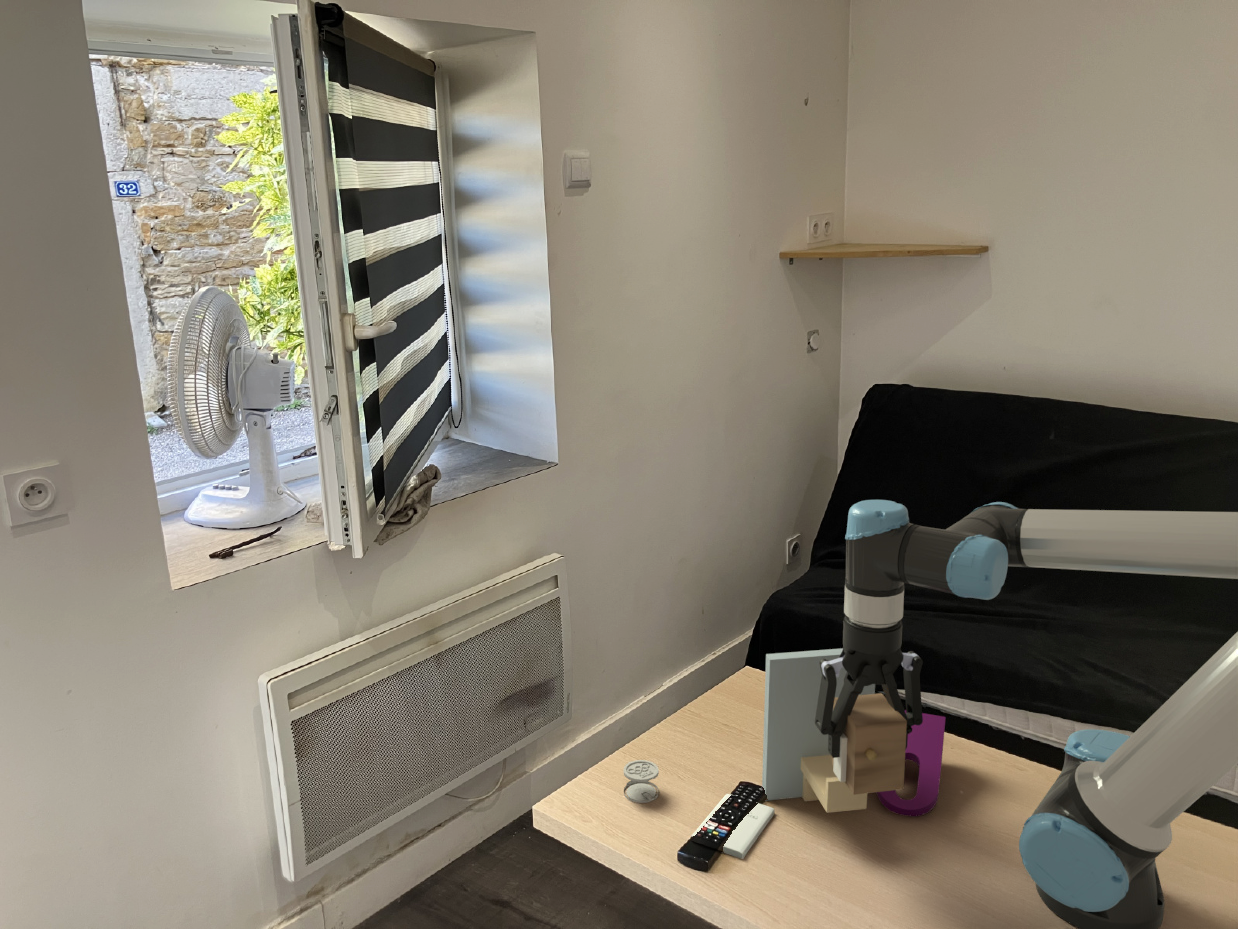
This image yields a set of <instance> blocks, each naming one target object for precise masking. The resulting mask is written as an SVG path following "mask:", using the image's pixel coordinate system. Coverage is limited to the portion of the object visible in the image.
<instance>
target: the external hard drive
mask: <svg viewBox="0 0 1238 929" xmlns="http://www.w3.org/2000/svg"><path fill="white" fill-rule="evenodd" d="M731 795H732V794H731V793H726V794H724V796H723V798H721V799H720V801H719V802H718V803H717V804H716V805H715V807H714V808H713V809H712V810H711V812H710V813H709V814H708V815H707V817H706V818H705V819H703V821H702V823H701V824H700V825H699V826H698V827H697V829H696V830H695V831H694V832H693V833H692V834H691V836H690V838H691V837H693V836H695V835H696V834H697V832H699V831H700V830H701V828H703V826H704V825H706V822H707V821H708V820H709V819H710V818H712V816H713V814H715V811H717V810H718V809H719V808H720V807H721V805H722V804H723V803H724V802H725V801H726V800H727V799H728V798H729V797H730V796H731ZM757 803H758V804H757V805H756V806H755V807H754V808H753V809H752V810H751V811H750V812H749V814H747V815H746V816H745V817H744V818H743V820H742V821H741V822H740V823H739V824H738V826H737V827H736V829H735V830H733V831H732V834H731V835H730V837H729V838H728V840H727V841H726V843H725V844H724V846H723V851H724V854H726V855H730V856H732V857H734V858H738V859H740V860H741V859H742V860H743V859H744V858H745V856H746V855H747V854H748V852H749V851H750V849H751V848H752V846H753V845H754V844H755V843H756V841H757V839H758V838H759V837H760V835H761V833H762V832H763V831H764V830H765V827H766V826H768V824H769V823H770V821H771V820H772V818H773V817H774V815H775V810H776V809H775V808H773V807H772V806H768V805H765V804H763V803H759V802H757Z"/></svg>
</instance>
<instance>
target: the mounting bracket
mask: <svg viewBox="0 0 1238 929" xmlns="http://www.w3.org/2000/svg"><path fill="white" fill-rule="evenodd" d="M904 710H905V713H906V709H904ZM922 717H923V722H922V724H921V725H913V726H911V727H912V732H911V733H910V734H908V740H907V748H906V750H905V761H910V762H911V761H912V762H914V763H915V764H916V765H917V766H918V768H919V771H918V778H917V779H918V780H917V787H916V795H915V796H914V797H913V798H911V799H904V798H901V797H900V796H899V795H898V794H897V790H892V791H882V792H875V793H876V797H877V799H878V800H879V802H880V803H881V804H882V805H883V806H884V808H886V809H887V810H888V811H890V812H892V813H894V814H897V815H900V816H905V817H921V816H924V815H926V814H927V813H929V812H930V811H931V810H933V809H934V807H935V806H936V805H937V802H938V799H939V792H940V791H939V790H940V782H941V781H940V780H941V773H942V763H943V751H944V741H945V726H946V716H943V715H935V714H929V713H924V712H922Z"/></svg>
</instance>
